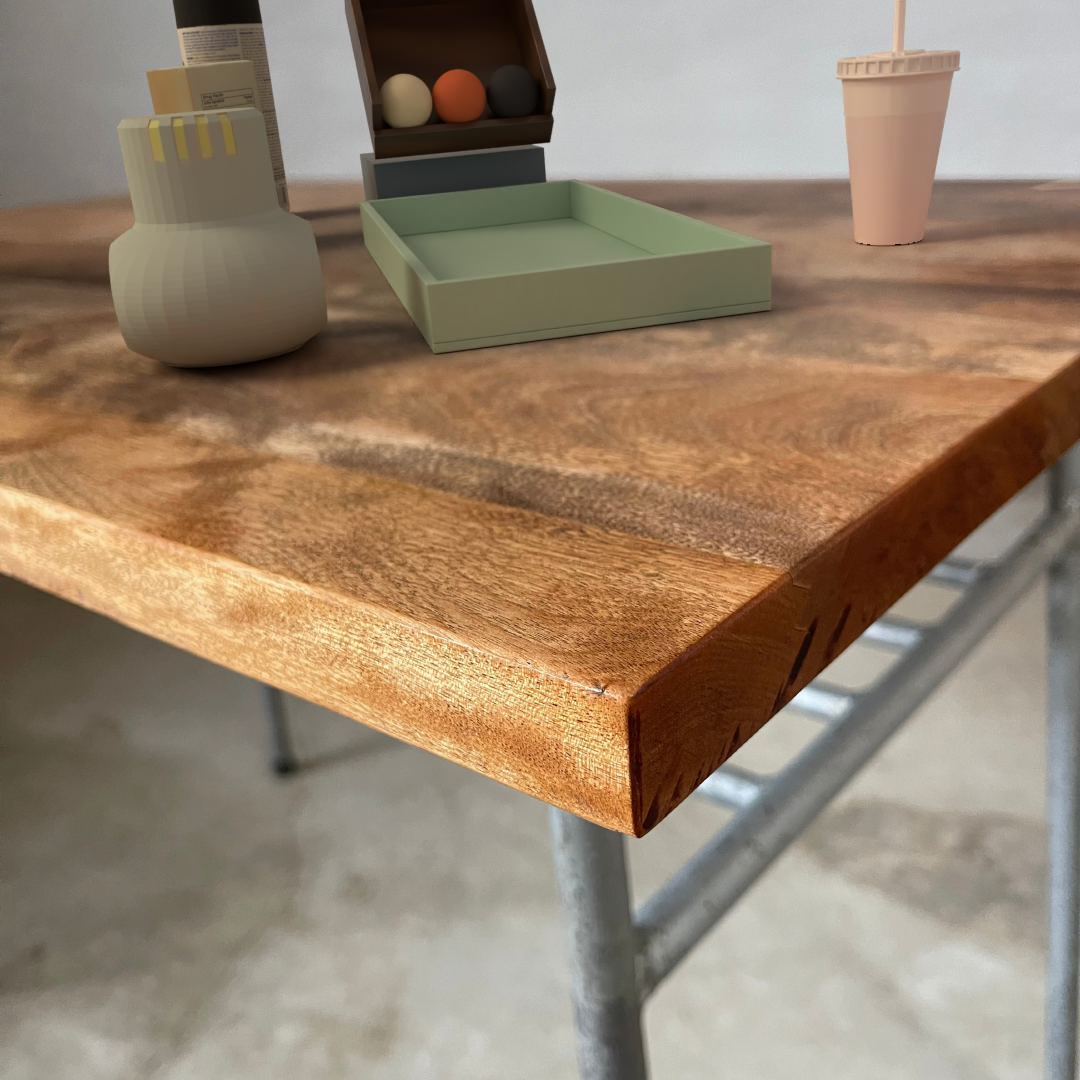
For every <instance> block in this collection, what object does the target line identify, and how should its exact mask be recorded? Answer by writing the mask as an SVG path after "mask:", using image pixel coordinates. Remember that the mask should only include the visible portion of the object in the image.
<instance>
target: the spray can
mask: <svg viewBox="0 0 1080 1080" xmlns="http://www.w3.org/2000/svg"><path fill="white" fill-rule="evenodd" d="M172 6H173V7H172V8H173V12H174V19H175V24H176V31H177V37H178V43H179V49H180V53H181V60H182V66H186V65H195V64H205V63H215V62H228V61H241V60H249V61H253V63H254V69H255V74H256V80H257V86H258V92H259V97H260V103H261V108H262V114H263V116H264V122H265V128H266V134H267V139H268V145H269V151H270V157H271V163H272V169H273V174H274V180H275V186H276V192H277V198H278V203H279V206H280V208H281V209H282V210H283V211H285V212H288V213H291V212H290V211H291V205H290V204H291V203H290V197H289V191H288V185H287V177H286V170H285V165H284V158H283V151H282V143H281V137H280V130H279V125H278V124H279V123H278V118H277V111H276V105H275V97H274V92H273V86H272V78H271V72H270V70H271V69H270V65H269V64H270V63H269V58H268V52H267V44H266V38H265V31H264V27H263V19H262V12H261V6H260V0H172Z"/></svg>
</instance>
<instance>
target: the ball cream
mask: <svg viewBox="0 0 1080 1080" xmlns="http://www.w3.org/2000/svg"><path fill="white" fill-rule="evenodd" d="M379 96H380V101H381V116H382V118H383V119H384V121H385V122H386V123H387V124H388V125H389V126H390V127H392V128H404V127H414V126H423V125H424V124H425V123H426V122H427V121H428V119H429V117H430V115H431V112H432V97H431V94H430V91H429V89H428V87H427V86H426V85H425V83H424V82H423V81H422V80H420V79H419V78H417V77H415V76H413V75H409V74H399V75H395V76H393V77H391V78H390V79H388V80H387V81H386V82H385V83H384V85H383V86H382V88H381V90H380V92H379Z"/></svg>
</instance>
